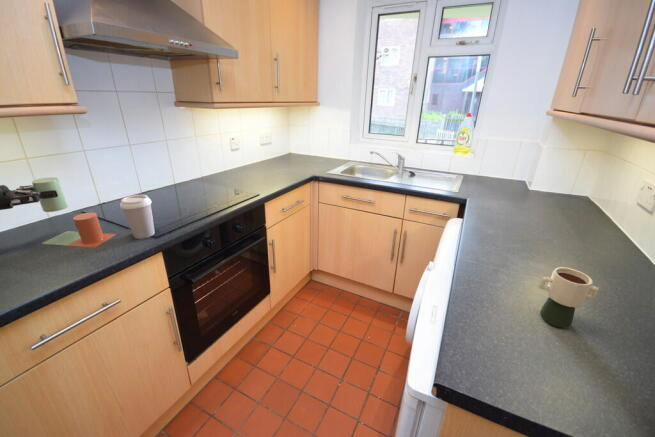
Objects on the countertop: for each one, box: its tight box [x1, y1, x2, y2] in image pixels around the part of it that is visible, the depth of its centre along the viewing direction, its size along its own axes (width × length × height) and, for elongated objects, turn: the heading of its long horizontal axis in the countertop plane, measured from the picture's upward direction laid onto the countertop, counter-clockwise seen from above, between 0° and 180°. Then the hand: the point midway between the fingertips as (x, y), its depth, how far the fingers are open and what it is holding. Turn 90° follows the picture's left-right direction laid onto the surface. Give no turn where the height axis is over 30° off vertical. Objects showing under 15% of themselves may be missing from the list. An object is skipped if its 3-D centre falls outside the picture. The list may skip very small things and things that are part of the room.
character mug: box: [538, 266, 600, 329], centre depth 69 cm, size 11×7×13 cm, turn 69°
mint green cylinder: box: [31, 176, 69, 213], centre depth 99 cm, size 6×6×10 cm
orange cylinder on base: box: [72, 212, 104, 244], centre depth 102 cm, size 6×6×9 cm
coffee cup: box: [119, 194, 156, 240], centre depth 106 cm, size 10×10×15 cm
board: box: [40, 230, 117, 248], centre depth 105 cm, size 10×20×1 cm, turn 84°
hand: (58, 190), depth 99 cm, fingers closed on mint green cylinder, 6 cm apart
